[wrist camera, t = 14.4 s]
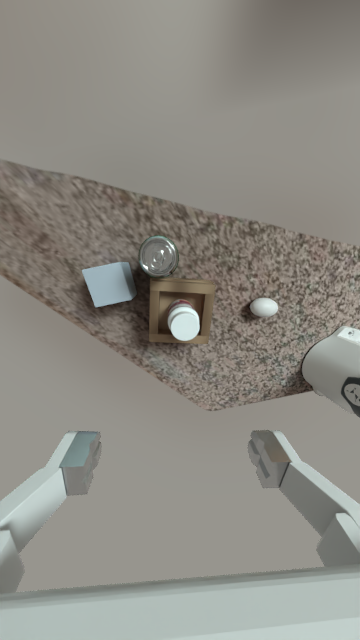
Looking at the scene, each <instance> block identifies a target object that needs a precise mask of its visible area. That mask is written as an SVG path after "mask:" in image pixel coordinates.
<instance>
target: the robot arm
mask: <svg viewBox="0 0 360 640" xmlns="http://www.w3.org/2000/svg"><path fill="white" fill-rule="evenodd" d="M302 374H303V377H304V379H305V380H306V381H307V382H308V383H309V384H310V385H312V387H313V389H314V392H315V393H316V394H318V395H319V396H326V397H327V398H329V399H330V400H331V401H333V402H334V403H335V404H337V405H338V406H340V407H341V408H342V409H344V410H345V411H347V412H348V413H351V414H352V413H353V414H356V415H357V416H358V417H360V330H359V329H355V328H351V327H348V326H342V327H340V328H339V329H337V330H336V331H335V332H334V333H333V334H332V335H331V336H329V337H327V338H325V339H323V340H322V341H320V342H319V343H317V344H316V345H315V346H314V347H313V348H312V349H311V350H310V351H309V352H308V354H307V355H306V357H305V359H304V362H303V365H302ZM100 437H101V436H100V432H88V431H87V432H86V431H68V432H67V433H66V434H65V435H64V437H63V438H62V440H61V442H60V443H59V445H58V447H57V448H56V450H55V452H54V453H53V455H52V456H51V458H50V460H49V462H48V463H47V465H46V466H45V468H41V469H39V470H38V471H37V472H36V473H34V474H33V475H32V476H31V477H30V478H28V479H27V480H26V481H25V482H24V483H22V484H21V485H20V486H18V487H17V488H16V489H15V490H14V491H13V492H11V493H10V494H9V495H7V496H6V497H5V498H4V499H3V500H1V501H0V640H360V505H359V504H358V503H357V502H355V501H354V500H353V499H352V498H350V497H349V496H348V495H346V494H345V493H344V492H343V491H341V490H340V489H339V488H337V487H336V486H335V485H334V484H332V483H331V482H330V481H328V480H327V479H326V478H325V477H323V476H322V475H321V474H319V473H318V472H317V471H316V470H314V469H313V468H311V467H310V466H309V465H308V464H307V463H305V462H302V461H301V460H300V458H299V457H298V455H297V454H296V452H295V451H294V449H293V448H292V446H291V445H290V444H289V442H288V441H287V439H286V438H285V436H284V435H283V434H282V432H281V431H269V430H266V431H252V433H251V438H252V439H251V440H250V441H249V443H248V453H249V456H250V459H251V462H252V463H253V464H254V465H255V466H256V467H257V469H256V473H257V476H258V478H259V480H260V483H261V485H262V487H263V488H280V490H281V492H282V493H283V494H284V495H285V496H286V497H287V498H288V499H289V501H290V502H291V503H292V504H293V505H294V506H295V507H296V508H297V510H298V511H299V512H300V513H301V514H302V515H303V516H304V517H305V519H306V520H307V521H308V522H309V523H310V524H311V525H312V526H313V528H315V530H316V531H317V532H318V533H319V534H320V535H321V537H322V538H321V540H320V541H319V543H318V545H317V552H318V554H319V556H320V558H321V560H322V562H323V564H324V566H325V567H316V568H305V569H292V570H280V571H269V572H256V573H243V574H231V575H220V576H207V577H196V578H183V579H171V580H158V581H146V582H135V583H122V584H110V585H98V586H87V587H73V588H61V589H49V590H38V591H25V592H16V590H17V587H18V585H19V583H20V581H21V578H22V576H23V574H24V565H23V563H22V560H21V558H20V555H19V553H20V552H21V551H22V549H23V548H24V547H25V546H26V545H27V543H28V542H29V541H30V540H31V539H32V538H33V536H34V535H35V534H36V533H37V532H38V530H39V529H40V528H41V527H42V526H43V524H44V523H45V522H46V521H47V520H48V519H49V517H50V516H51V515H52V514H53V513H54V512H55V510H56V509H57V508H58V507H59V506H60V504H61V503H62V502H63V501H64V500H65V499H66V497H67V495H83V494H87V493H88V490H89V487H90V484H91V481H92V479H93V469H94V468H95V467H96V466H97V464H98V461H99V458H100V454H101V442H99V439H100Z"/></svg>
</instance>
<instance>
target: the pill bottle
mask: <svg viewBox="0 0 360 640" xmlns="http://www.w3.org/2000/svg"><path fill="white" fill-rule="evenodd" d="M168 326H169V329H170V330H171V332H172V334H173V336H174V337H175V338H177V339H178V340H182V341H188V340H191V339H193V338H194V337H195V336H196V335H197V334H198V332H199V329H200V325H199V316H198V314H197V312H196V311H195V309H194V308H193V306H192V305H191V303H190V302H188V301H186V300H183V299H179V300H176V301H174V302H172V303H171V305H170V306H169V308H168Z"/></svg>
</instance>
